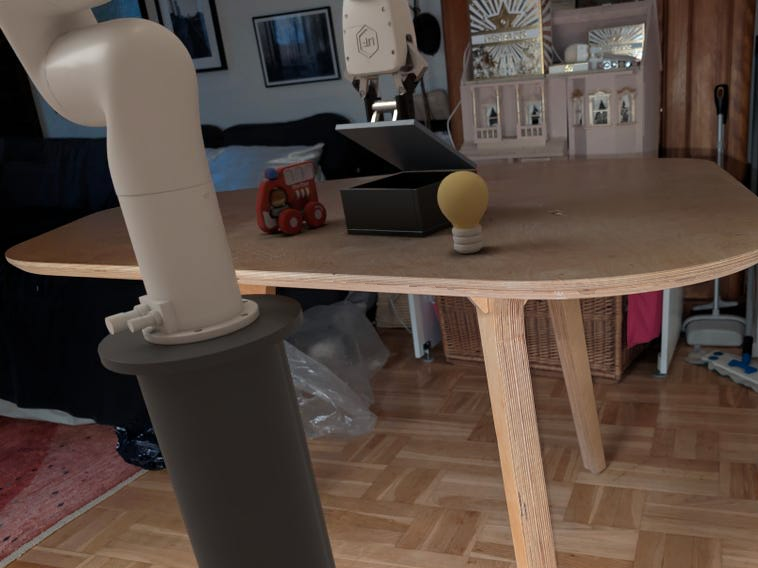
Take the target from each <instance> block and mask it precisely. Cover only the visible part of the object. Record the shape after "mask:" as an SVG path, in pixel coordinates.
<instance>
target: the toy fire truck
mask: <svg viewBox="0 0 758 568" xmlns="http://www.w3.org/2000/svg"><path fill="white" fill-rule="evenodd" d="M316 174H317V173H316V168H315V164H314V162H313V161H311V160H305V161H300V162H295V163H292V164H289V165H284V166H280V167H277V168H276V169H275V168H273V167H268V168H266V169H265V170H264V178H265V179H266V180H262V181H260V183H259V185H258V189H257V190H258V192H257V196H256V202H255V213H256V223H257V227H258V228H259V229H260V231H262V232H264V233H266V234H275V233H277V232H278V231H279V230H280V231H281V232H282V233H284V234H286V235H297V234H298V233H300V231H301V230H302V228H303V223H304V222H305V224H306V225H307V226H309V227H311V228H320V227H322V226H323V225H324V224H325V223H326V220H327V216H328V215H327V209H326V208H325V205H323V204H322V203H321V202H319V196H318V190H317V185H316Z"/></svg>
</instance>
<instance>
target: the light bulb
mask: <svg viewBox="0 0 758 568" xmlns="http://www.w3.org/2000/svg"><path fill="white" fill-rule="evenodd" d="M437 199H438V204H439V207H440V209H441V211H442V213H443V214H444V215H445V216H446V218H447V219H448V220H449V221H450V222H451V223H452V224H453V225H452V226H453V227H452V229H451V233H452V235H453V236H452V239H453V240H452V241H453V242H454V243H453V248H454V250H455V251H456V252H458V253H460V254H472V253H477V252H479V251H480V250H481V249H482V248H483V247H484V241H483V233H482V232H483V228H482V225H481V224H480V222H481V220H482V218H483V216H484V214H485V212H486V211H487V208H488V205H489V201H490V194H489V188H488V186H487V183H486V182H485V180H484V179H483V178H482V177H481V176H480V175H478V173H477V174H475V173H473V172H469V171H458V172H454V173H452V174H450V175H448V176H447V177H446V178H445V179H444V180H443V181H442V182H441V184H440V186H439V189H438V195H437Z"/></svg>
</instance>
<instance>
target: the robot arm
mask: <svg viewBox="0 0 758 568" xmlns="http://www.w3.org/2000/svg"><path fill="white" fill-rule="evenodd" d="M111 1H112V0H0V29H1V31H2V33H3V35H4V37H5V38H6V40H7V41H8V43H9V45H10V47H11V48H12V50H13V51H14V54H15V55H16V57H17V58H18V60H19V62H20V63H21V65H22V67H23V68H24V71H25V72H26V74H27V75H28V77H29V79H30V80H31V82H32V83H33V85H34V86H35V88H36V89H37V91H38V92H39V94H40V95H41V96H42V98H43V99H44V100H45V102H46V103H47V104H48V105H49V106H50V107H51V108H52V109H53V110H54V111H55V112H56V113H57V114H59V115H60V116H61V117H62V118H64V119H66V120H67V121H70V122H72V123H74V124H76V125H80V126H84V127H88V128H89V127H90V128H103V127H106V153H107V162H108V169H109V173H110V177H111V180H112V184H113V188H114V191H115V195H116V196H117V199H118V202H119V206H120V209H121V212H122V216H123V218H124V222H125V226H126V229H127V232H128V236H129V238H130V242H131V245H132V248H133V253H134V255H135V259H136V261H137V264H138V265H137V266H138V268H139V271H140V275H141V278H142V281H143V285H144V289H145V291H146V294H144V295H142V296H139V297H138V300H139V303H140V304H136V305H134V307H133V309H132V310H129V311H126V312H119V313H116V314H113V315H109V316H107V317H105V318H104V321H105V325H106V328H107V330H108V332H109V334H110V333H111V334H112V335H114V334H117V333H120V332H123V331H126V330H129V329H130V331H131V332H132V333H133V332H136V331H139V330H142V332H143V335H144V338H145V339H146V340H147V341H148V342H151V343H154V344H160V345H178V344H187V343H194V342H200V341H205V340H209V339H213V338H217V337H221V336H224V335H227V334H230V333H233V332H235V331H238V330H240V329H242V328H244V327H246V326H248V325H250V324H251V323H253V322H254V321H255V320H256V319H257V318H258V317H259V314H260V312H259V308H258V305H257V304H256V303H255V302H253V301H251V300H247V299H242V297H241V295H242V294H241V290H240V285H239V281H238V277H237V272H236V269H235V264H234V260H233V257H232V253H231V249H230V246H229V245H230V244H229V240H228V237H227V232H226V229H225V225H224V221H223V217H222V213H221V208H220V204H219V201H218V196H217V192H216V189H215V185H214V180H213V178H212V174H211V170H210V165H209V161H208V158H207V152H206V149H205V143H204V138H203V137H204V136H203V133H202V125H201V114H200V97H199V84H198V76H197V71H196V68H195V65H194V61H193V59H192V56H191V54H190V53H189V50H188V48H187V47H186V45H184V43H183V42H182V41H181V39H180V38H179V37H178V36H177V35H176V34H175V33H174V32H172V31H171V30H170V29H169V28H167V27H165V26H163V25H162V24H160V23H158V22H155V21H153V20H150V19H145V18H141V17H140V18H139V17H122V18H115V19H109V20H105V21H102V22H98V20H97V19H96V17H95V15H94V13H93V11H92V9H93V8H97V7H100V6H103V5H106V4H107V3H109V2H111ZM341 21H342V22H341V23H342V40H343V41H342V42H343V50H344V60H345V69H344V72H343V78H344V79H345V80H346V81H347V82H348V83H350V84H351V85H352V87H353V88H354V90H355V91H357V92H358V96H359V98H360V99H363V101H364V103H363V104H364V109H365V116H366V123H368V122H371V120H372V115H373V112H372V110H371V103H372V102H373V101H378V100H383V99H382V97H381V96H378V95H379V94H378V93H379V83H380V82H379V81H380V76H384V75H385V76H386V75H391V76H392V79H393V83H394V86H395V87H396V91H397V93H398V95H395V97H394V99H395V100H396V108H397V116H398V120H410V119H415V120H416V109H415V101H414V94H416V93H417V87H418V85H419V83H420V82H421V80H422V77H423V76H424V74H426V72H427V71H428V69H429V63H428V61H426V59H425V57H423V55H422V54H421V53H420V52H419V50H418V44H417V36H416V31H415V25H414V21H413V16H412V12H411V9H410V5H409V1H408V0H342V20H341ZM382 121H385V113H381V114H379V119H378V122H382Z"/></svg>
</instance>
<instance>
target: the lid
mask: <svg viewBox="0 0 758 568" xmlns="http://www.w3.org/2000/svg"><path fill="white" fill-rule="evenodd" d="M371 110H372V112H373V115H372V120H371V122H368V123H367V122H356V123H354V122H353V123H343V124H342V123H340V124H339V123H338V124H335V128H334V129H335V131H337V132H338V133H340V134H341V135H343V136H345V137H346V138H348V139H350V140H352V141H353V142H354V143H356V144H358V145H360V146H361V147H363V148H364V149H366V150H368V151H370V152H372V153H373V154H374V155H376V156H378V157H379V158H381V159H383V160H384V161H386V162H388V163H390V164H391V165H393V166H395V168H397V169H399V170H401V171H402V172H403V171H445V170H477V167H478V165H477V163H476V162H474V161H473V160H472V159H470V158H469V157H468V156H466V155H465V154H463V153H462V152H461V151H459V150H458V149H457V148H455V147H454V146H452V145H451V144H450V143H448V142H447V141H446V140H444V139H443V138H442V137H440V136H439V135H437V134H436V133H435V132H433V131H432V130H430V129H429V128H428V127H426V126H425V125H424V124H422V123H421V122H420V121H418V120H417V119H416V118H415V119H410V120H398V116H397V108H396V100H395V98H389V99H382V100H378V101H373V102H372V103H371ZM381 113H384V114H392V113H393V114H392V120H384V121H382V122H378V119H379V114H381Z"/></svg>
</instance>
